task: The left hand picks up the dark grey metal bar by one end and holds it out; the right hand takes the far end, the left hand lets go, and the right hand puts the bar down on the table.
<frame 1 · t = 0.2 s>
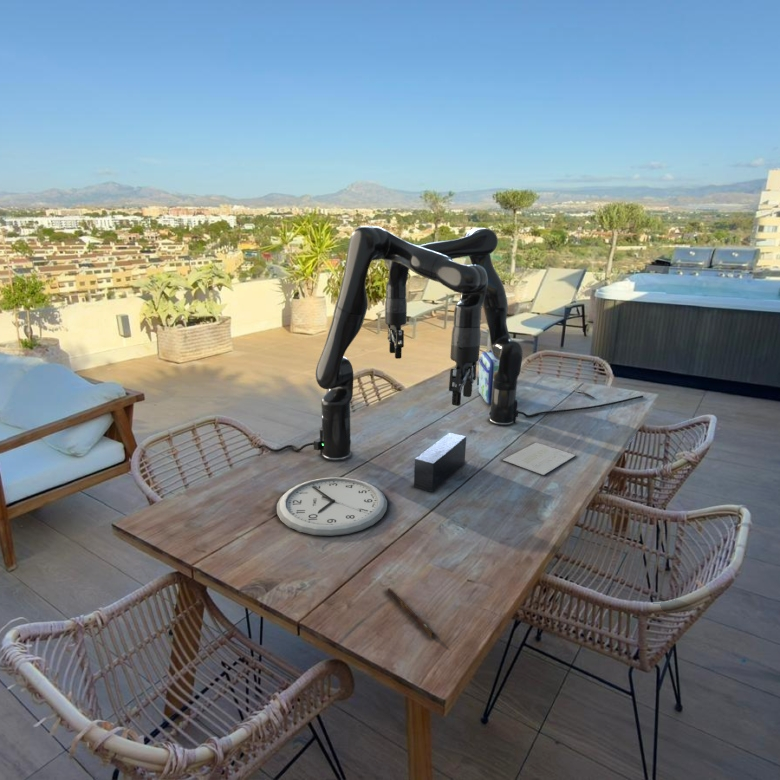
left hand: (461, 400, 143), 28 cm above the table, tool pointing down, fingers open, 8 cm apart
right hand: (395, 355, 187), 29 cm above the table, tool pointing down, fingers open, 8 cm apart
bar: (440, 474, 162), on the table
dark brown stick: (408, 613, 103), on the table
wall clock: (332, 505, 143), on the table
fork: (584, 394, 243), on the table
lunch box: (491, 399, 234), on the table
toy gun: (487, 376, 269), on the table
invitation card: (539, 458, 174), on the table
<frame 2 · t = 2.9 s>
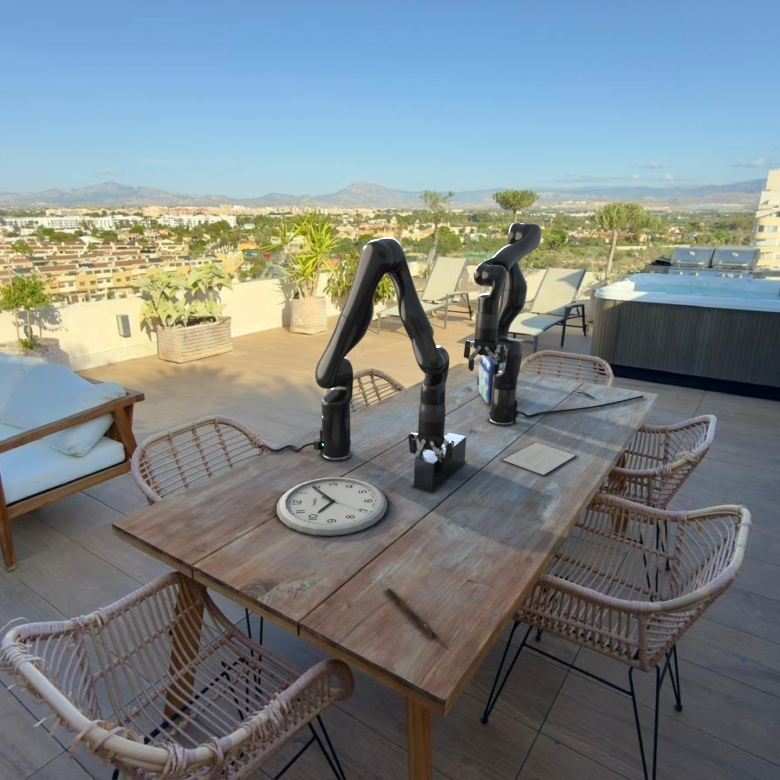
left hand: (429, 469, 154), 5 cm above the table, tool pointing down, fingers closed on bar, 6 cm apart
right hand: (483, 372, 180), 26 cm above the table, tool pointing down, fingers open, 8 cm apart
bar: (440, 474, 162), on the table, touching left hand
everything else where it was.
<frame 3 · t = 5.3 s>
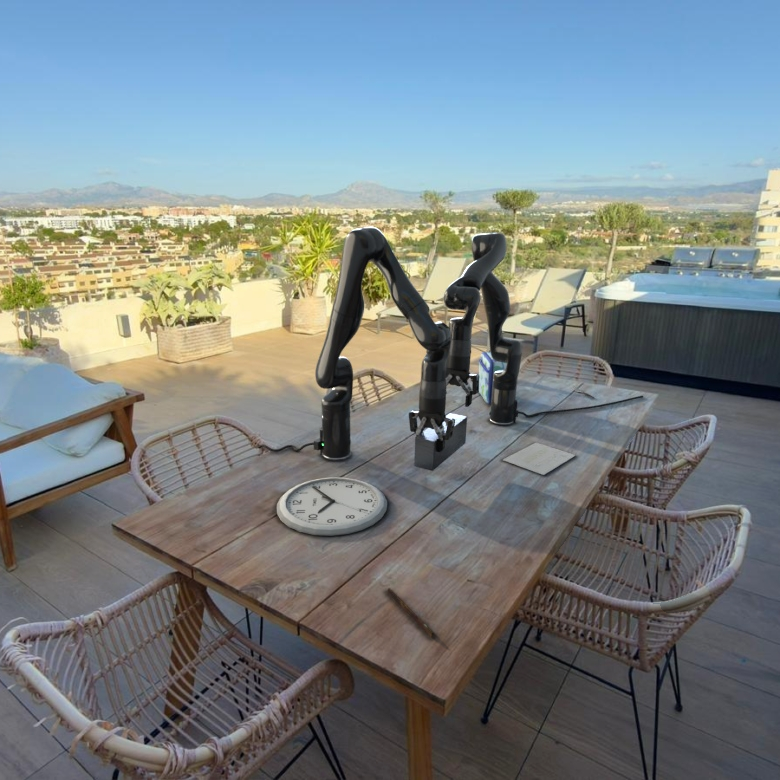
left hand: (430, 448, 152), 12 cm above the table, tool pointing down, fingers closed on bar, 6 cm apart
right hand: (454, 403, 163), 21 cm above the table, tool pointing down, fingers open, 8 cm apart
bar: (441, 454, 160), point 7 cm above the table, touching left hand
everything else where it was.
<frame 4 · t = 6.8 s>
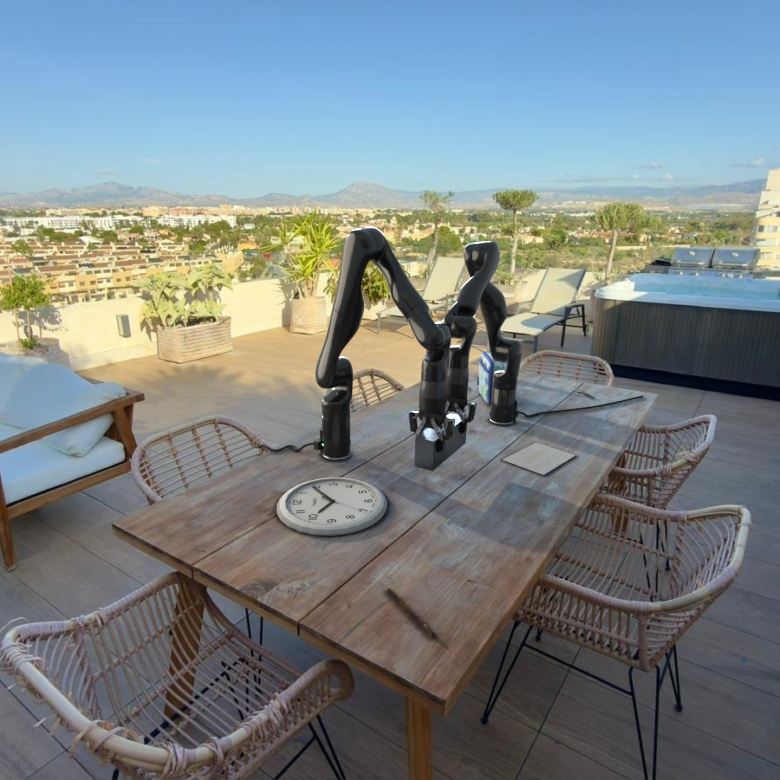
left hand: (430, 448, 152), 12 cm above the table, tool pointing down, fingers closed on bar, 6 cm apart
right hand: (453, 430, 165), 12 cm above the table, tool pointing down, fingers closed on bar, 6 cm apart
bar: (441, 454, 160), point 7 cm above the table, touching right hand, left hand
everything else where it was.
when the left hand's fingers open (12 cm above the table, at t = 8.0 s): bar moves 1 cm, held by the right hand.
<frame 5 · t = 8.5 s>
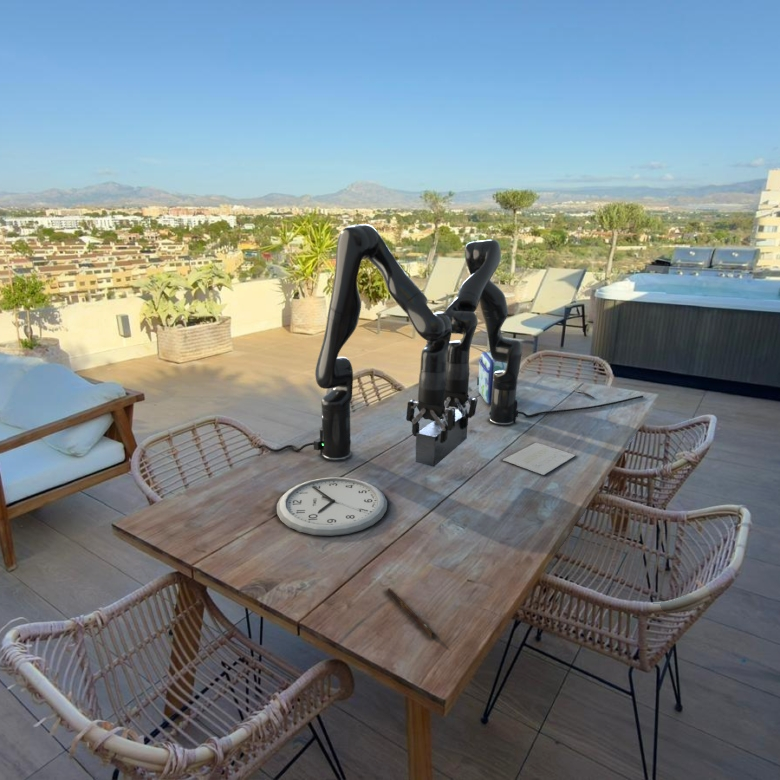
left hand: (429, 438, 150), 15 cm above the table, tool pointing down, fingers open, 8 cm apart
right hand: (454, 426, 165), 13 cm above the table, tool pointing down, fingers closed on bar, 6 cm apart
bar: (442, 449, 160), point 8 cm above the table, touching right hand
everything else where it was.
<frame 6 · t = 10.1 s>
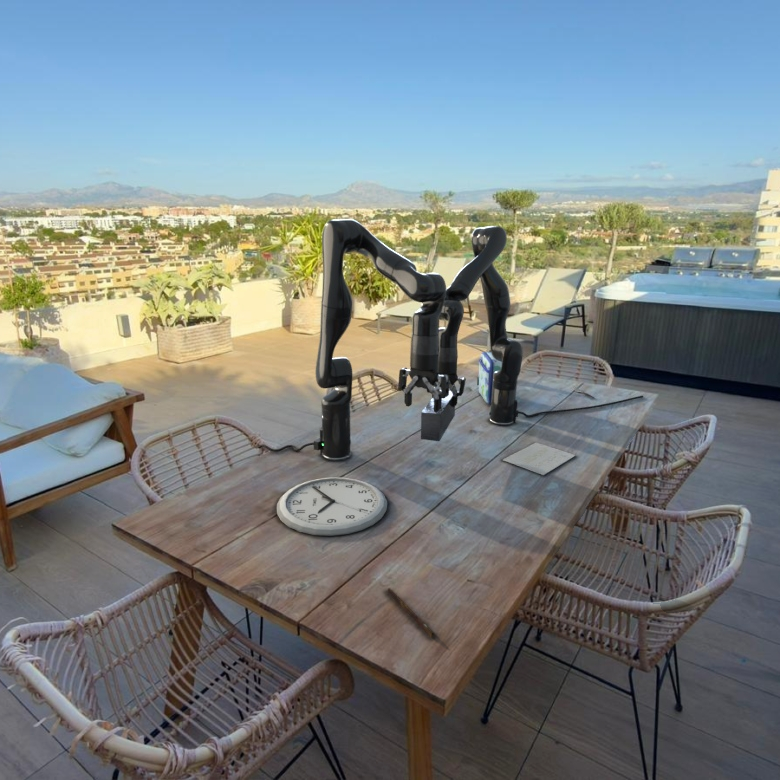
left hand: (422, 408, 143), 26 cm above the table, tool pointing down, fingers open, 8 cm apart
right hand: (444, 405, 181), 14 cm above the table, tool pointing down, fingers closed on bar, 6 cm apart
bar: (438, 426, 176), point 9 cm above the table, touching right hand
everything else where it was.
when the right hand's fingers open (6 cm above the table, at t = 13.5 s): bar drops 1 cm, on the table.
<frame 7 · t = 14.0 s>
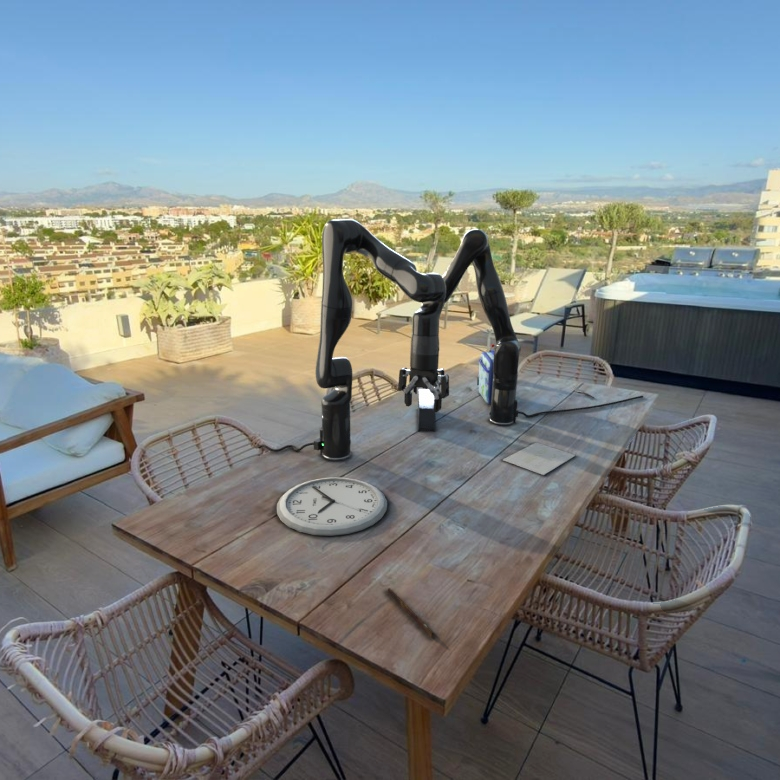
left hand: (422, 408, 143), 26 cm above the table, tool pointing down, fingers open, 8 cm apart
right hand: (426, 393, 212), 9 cm above the table, tool pointing down, fingers open, 8 cm apart
bar: (425, 420, 207), on the table
everything else where it was.
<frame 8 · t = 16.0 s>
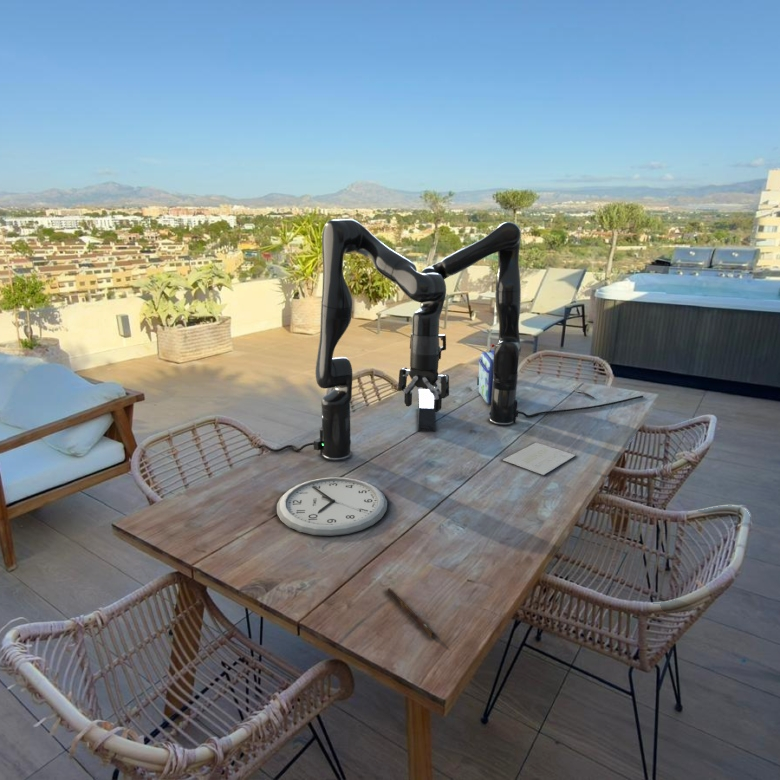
left hand: (422, 408, 143), 26 cm above the table, tool pointing down, fingers open, 8 cm apart
right hand: (427, 359, 208), 23 cm above the table, tool pointing down, fingers open, 8 cm apart
nothing on the table moved.
at the end: bar inside the target area (7.9 cm from its centre), on the table; the left hand is holding nothing; the right hand is holding nothing; bar at rest at the end (0.0 cm/s) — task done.
